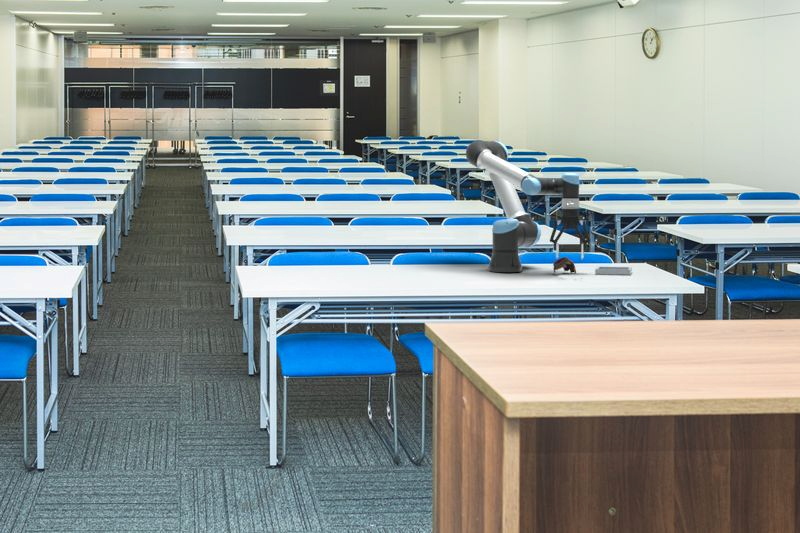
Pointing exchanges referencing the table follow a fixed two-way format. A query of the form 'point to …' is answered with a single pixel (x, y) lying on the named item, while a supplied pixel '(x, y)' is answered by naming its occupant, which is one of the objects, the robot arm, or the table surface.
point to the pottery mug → (564, 265)
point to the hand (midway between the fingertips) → (569, 258)
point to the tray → (613, 271)
